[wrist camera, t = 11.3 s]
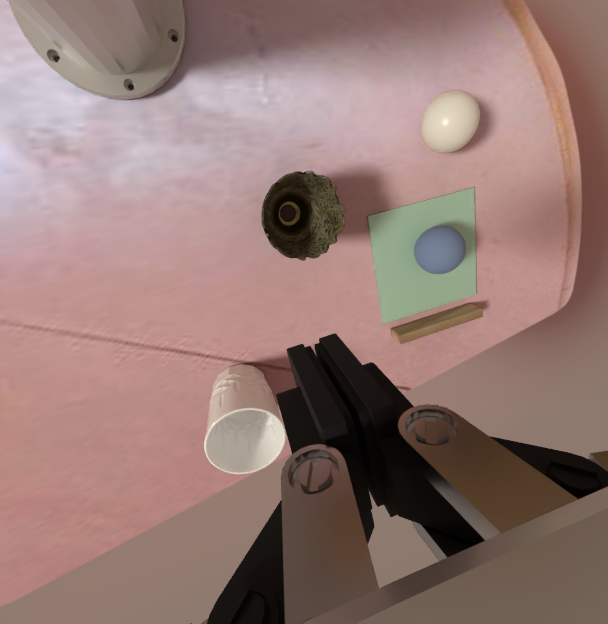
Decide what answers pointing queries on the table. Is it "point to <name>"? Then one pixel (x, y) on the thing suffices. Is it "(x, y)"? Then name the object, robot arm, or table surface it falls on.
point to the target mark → (401, 261)
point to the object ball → (440, 249)
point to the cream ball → (450, 121)
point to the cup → (303, 215)
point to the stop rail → (436, 322)
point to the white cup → (243, 422)
